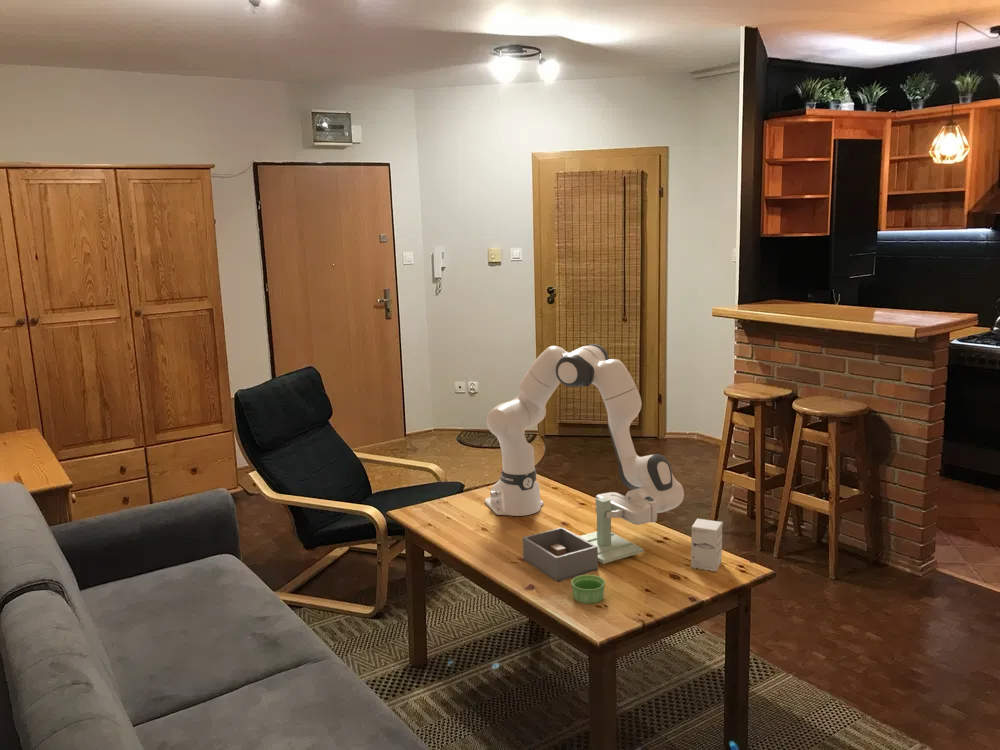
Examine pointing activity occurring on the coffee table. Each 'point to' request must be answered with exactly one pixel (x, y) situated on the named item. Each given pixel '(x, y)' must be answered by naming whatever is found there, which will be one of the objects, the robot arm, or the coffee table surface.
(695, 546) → the supplement box
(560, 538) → the tub
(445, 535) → the coffee table surface
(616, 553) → the grooved base with post
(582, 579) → the ramekin
